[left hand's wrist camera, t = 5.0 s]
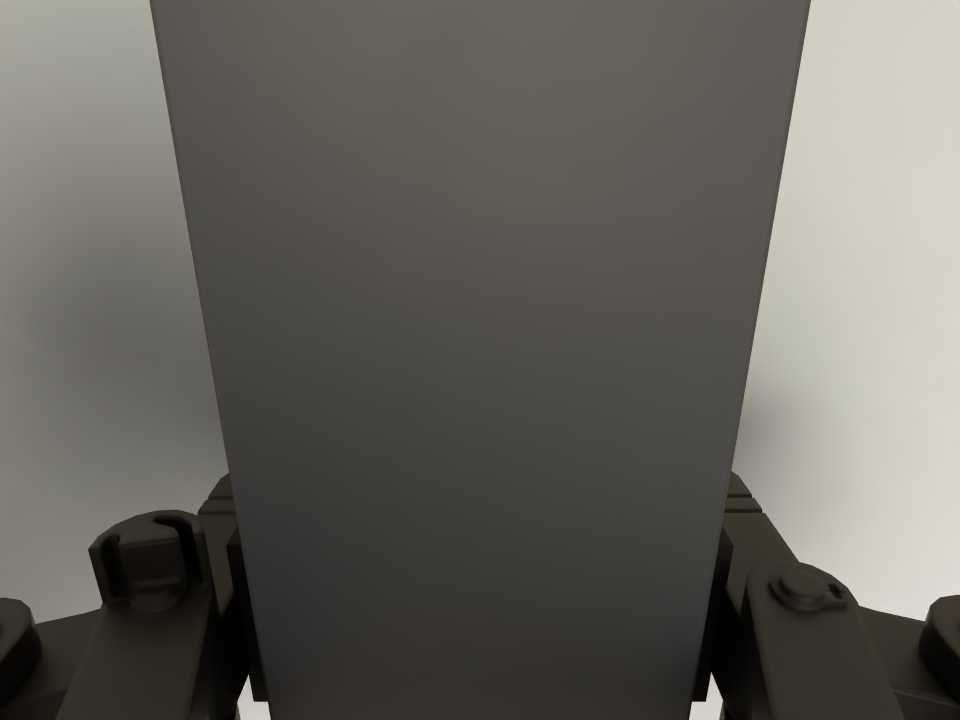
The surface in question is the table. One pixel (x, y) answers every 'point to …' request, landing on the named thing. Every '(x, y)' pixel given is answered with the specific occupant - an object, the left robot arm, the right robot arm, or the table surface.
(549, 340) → the beam
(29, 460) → the table surface
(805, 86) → the table surface
